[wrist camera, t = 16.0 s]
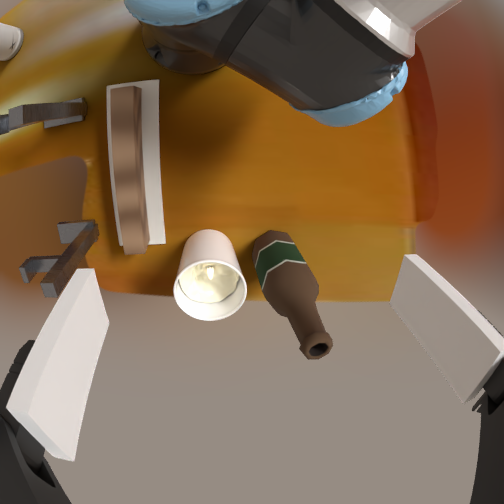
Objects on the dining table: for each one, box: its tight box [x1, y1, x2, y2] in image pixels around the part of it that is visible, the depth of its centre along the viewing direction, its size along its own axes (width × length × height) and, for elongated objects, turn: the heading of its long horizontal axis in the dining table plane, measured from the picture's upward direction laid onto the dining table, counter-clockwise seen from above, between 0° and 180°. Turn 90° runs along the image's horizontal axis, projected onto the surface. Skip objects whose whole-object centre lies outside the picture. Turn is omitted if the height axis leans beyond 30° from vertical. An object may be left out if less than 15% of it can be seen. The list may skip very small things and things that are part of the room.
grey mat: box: [107, 79, 166, 246], centre depth 40 cm, size 26×8×1 cm, turn 178°
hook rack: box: [0, 98, 99, 297], centre depth 31 cm, size 24×8×18 cm, turn 178°
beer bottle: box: [252, 230, 333, 359], centre depth 40 cm, size 8×8×24 cm
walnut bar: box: [110, 86, 150, 255], centre depth 38 cm, size 24×3×5 cm, turn 178°
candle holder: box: [173, 229, 247, 321], centre depth 44 cm, size 10×10×12 cm
